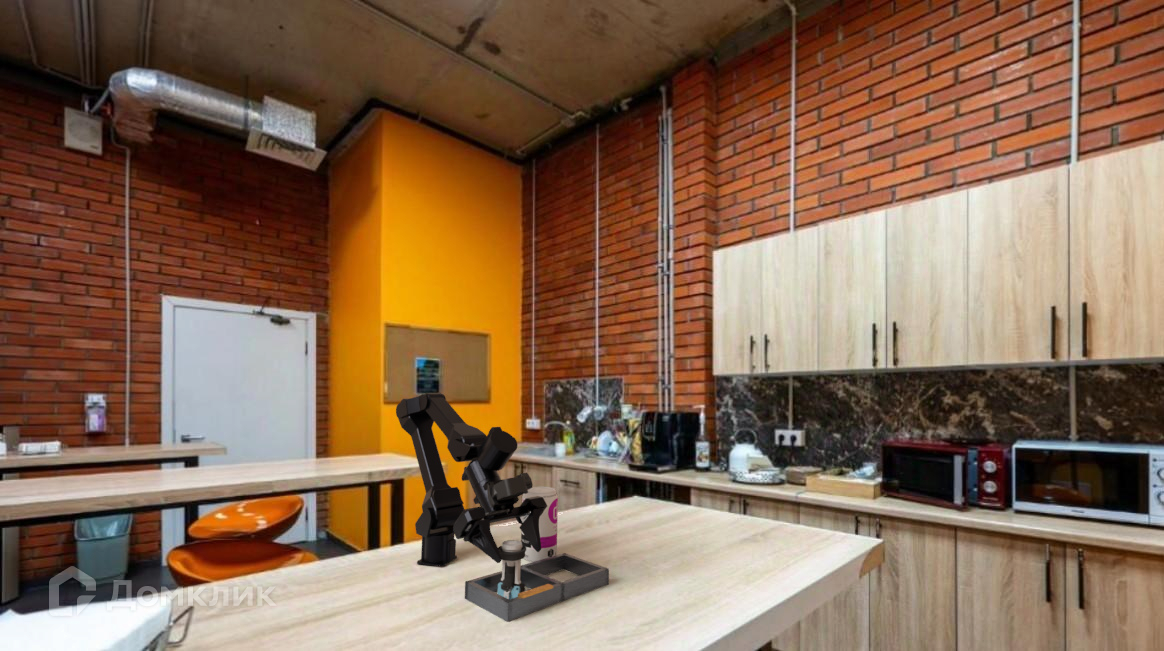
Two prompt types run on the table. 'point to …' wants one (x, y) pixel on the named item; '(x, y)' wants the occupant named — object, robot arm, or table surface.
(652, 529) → the table surface
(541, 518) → the supplement can
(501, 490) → the robot arm
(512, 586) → the push button
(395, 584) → the table surface
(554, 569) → the grey divided tray
